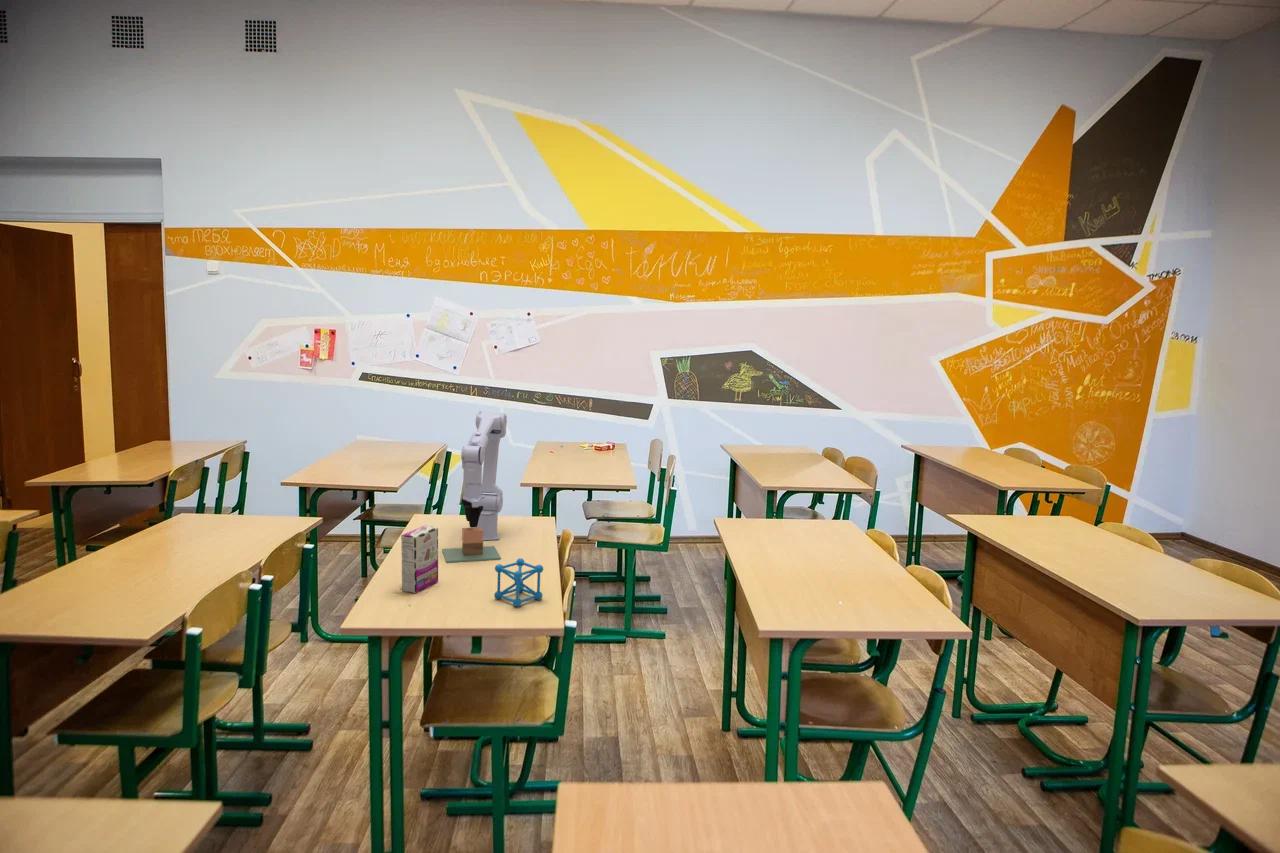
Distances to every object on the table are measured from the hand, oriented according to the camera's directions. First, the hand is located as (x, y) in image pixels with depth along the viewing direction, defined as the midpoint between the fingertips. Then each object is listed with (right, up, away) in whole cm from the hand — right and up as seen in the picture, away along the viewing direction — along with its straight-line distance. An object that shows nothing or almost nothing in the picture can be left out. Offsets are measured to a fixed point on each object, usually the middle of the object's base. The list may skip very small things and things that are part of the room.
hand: (471, 523), depth 246 cm
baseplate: (-1, -10, +1) cm, 10 cm away
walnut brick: (0, -10, +1) cm, 10 cm away
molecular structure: (+21, -17, -35) cm, 44 cm away
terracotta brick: (0, -6, +1) cm, 6 cm away
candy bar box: (-8, -14, -29) cm, 33 cm away
